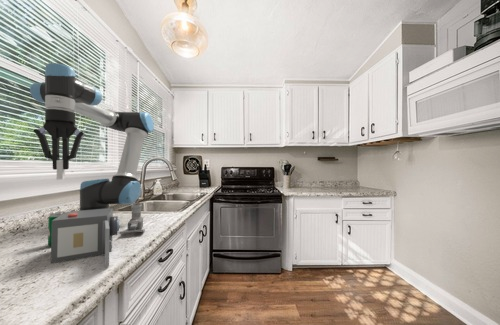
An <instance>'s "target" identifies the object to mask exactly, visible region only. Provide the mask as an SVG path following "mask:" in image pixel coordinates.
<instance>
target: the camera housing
mask: <svg viewBox="0 0 500 325" xmlns="http://www.w3.org/2000/svg"><path fill="white" fill-rule="evenodd" d="M65 212H66V213H64V214H62V215H61V216H59V217H57V218H56V219H54V220H52V231H51V246H50V264H54V263H55V264H56V263H61V262H65V261H66V262H68V261H73V260H79V259H83V258H90V257H95V256H96V257H97V256H100V255H101V256H103V255H102V227H103V221H104V220H108V222H109V228H110V234H109V240H111V241H112V242H113V236H117V235H118V232H119V231H120V219H119V217H118V215H115V216H114V215H113V214H114V208H113V207H109V208H107V209H94V210H82V211H80V210H73V211H71V210H70V211H65Z"/></svg>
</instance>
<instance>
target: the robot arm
mask: <svg viewBox="0 0 500 325" xmlns="http://www.w3.org/2000/svg"><path fill="white" fill-rule="evenodd" d="M76 77H77V75H76V71H75V70H74V68H72V67H70V66H68V65H66V64H62V63H58V62H49V63H47V64H46V65H45V72H44V81H43V82H35V83H34V82H33V83H32V84H31V85H30V87H29V93H30V96H31V97H32V99H34V100H35V101H36V102H38V103H43V104H45V106H44V107H45V108H46V109H45V110H44V112H45V114H44V115H45V116H44V118H45V120H44V121H45V122H44V124H43V125H42V127H40V128H38V129H37V128H34V129H33V133H34V134H35V135H36V136H37V138H38V140H39V143H40V146H41V150H42V153H43V155H44V158H46V159H50V160H52V169H53V170H56V180H65V178H66V170H68V169H69V168H70V162H69V161H70V160H72V159H73V160H74V159H76V157H77V154H78V151H79V148H80V144H81V141H82V140H83V138H84V136H85V135H86V133H85V132H83V131H80V130H79V129H78V127H77V126H76V114H79V115H81V116H83V117H86V118H88V119H91V120H93V121H96V122H98V123H100V125H101V126H104V127H106V128H109V129H112V130H114V131H118V132H121V133H126V137H125V141H124V145H123V148H122V153H121V156H120V160H119V165H118V169H117V173H116V174H114V175H112V178H111V180H110V178H100V179H99V178H98V179H91V180H85V181H82V182H81V183H80V186H79V187H80V188H79V211H82V210H94V209H107V208H110V206H109V205H130V204H131V205H132V204H135V202H136V201H137V200H138V199H139V197H140V195H141V192H142V185H141V183H140V182H139V179H138V178H137V171H138V167H139V162H140V157H141V154H142V148H143V144H144V139H146V138H148V135H149V133H152V132H153V131H154V121H153V118H152V116H151V115H150V113H148V112H144V111H139V112H138V111H136V112H135V111H132V112H131V111H115V110H113V109H112V110H111V109H106V108H104V107H102V106H100V105H99V104H101V102H102V101H103V95H102V92H101V91H100V90H99V89H98V88H96V87H95V86H93V85H91V84H89V83H86V82H84V81H82V80H80V79H79V78H76ZM75 113H76V114H75ZM47 133H48V134H49V135H50V136H51V143H52V144H51V149H50V145H49V142H48V139H47V136H46V134H47ZM73 135H75V137H74V141H73V144H72V148H71V150H70V138H71V137H72V136H73ZM60 140H61V141H62V144H61V145H62V148H61V149H62V158H60ZM60 159H61V160H60Z"/></svg>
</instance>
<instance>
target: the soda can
mask: <svg viewBox="0 0 500 325" xmlns="http://www.w3.org/2000/svg"><path fill="white" fill-rule="evenodd" d="M66 212H67V211H56V212H50V213H49V215H48V220H47V222H48V223H47V246H48V247H51V231H52V220H54V219H56V218H57V217H59V216H61V215H62V214H64V213H66Z"/></svg>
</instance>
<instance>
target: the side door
mask: <svg viewBox="0 0 500 325" xmlns="http://www.w3.org/2000/svg"><path fill="white" fill-rule="evenodd" d="M109 234H110V228H109V222H108V220H104V221H103V227H102V255H101V256H104V267H105V268H107V267H110V253H112V248H113V247H112V246H113V245H112V242H113V240H112V241H111V240H109Z"/></svg>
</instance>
